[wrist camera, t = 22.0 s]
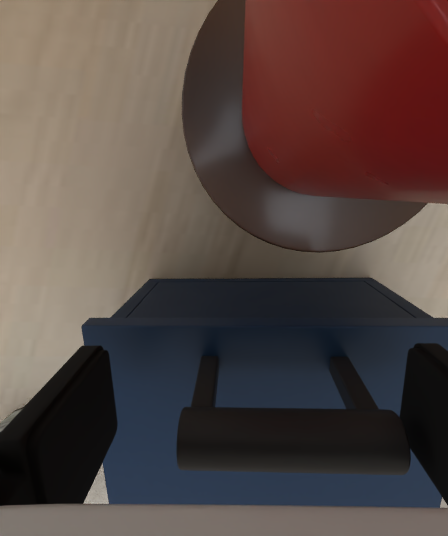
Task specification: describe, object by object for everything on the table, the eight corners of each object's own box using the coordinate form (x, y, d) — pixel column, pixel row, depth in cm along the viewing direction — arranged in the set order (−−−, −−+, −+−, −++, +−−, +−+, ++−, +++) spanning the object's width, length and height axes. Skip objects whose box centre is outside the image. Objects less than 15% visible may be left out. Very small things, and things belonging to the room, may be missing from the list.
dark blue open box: (149, 278, 23) (99, 327, 15) (372, 277, 22) (449, 327, 14) (160, 436, 25) (124, 550, 17) (357, 439, 25) (415, 560, 17)
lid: (89, 317, 14) (-4, 407, 8) (465, 317, 13) (619, 415, 8) (123, 550, 17) (74, 712, 12) (416, 560, 17) (496, 736, 11)
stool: (200, 43, 19) (174, -58, 11) (392, 36, 19) (502, -76, 11) (206, 231, 22) (187, 253, 14) (376, 229, 21) (455, 251, 13)
